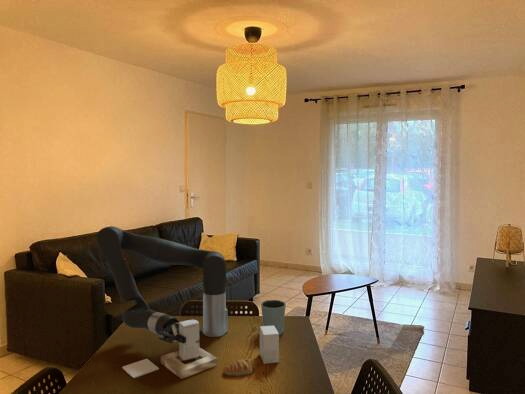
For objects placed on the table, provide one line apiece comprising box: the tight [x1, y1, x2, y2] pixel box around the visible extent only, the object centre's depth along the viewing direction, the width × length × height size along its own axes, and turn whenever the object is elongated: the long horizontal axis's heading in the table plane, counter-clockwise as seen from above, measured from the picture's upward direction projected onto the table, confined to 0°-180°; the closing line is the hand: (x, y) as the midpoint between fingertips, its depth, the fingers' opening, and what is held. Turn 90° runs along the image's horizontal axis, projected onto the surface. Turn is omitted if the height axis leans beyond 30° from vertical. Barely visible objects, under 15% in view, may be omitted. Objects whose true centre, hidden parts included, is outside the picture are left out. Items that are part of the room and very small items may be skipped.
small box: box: [259, 325, 280, 365], centre depth 146 cm, size 8×6×10 cm
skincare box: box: [178, 318, 200, 361], centre depth 141 cm, size 6×4×12 cm
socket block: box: [160, 346, 218, 380], centre depth 141 cm, size 14×14×2 cm
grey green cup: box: [260, 299, 287, 336], centre depth 169 cm, size 10×10×12 cm
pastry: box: [222, 357, 253, 377], centre depth 137 cm, size 9×7×4 cm
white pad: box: [121, 358, 160, 379], centre depth 138 cm, size 9×9×1 cm
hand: (193, 336), depth 139 cm, fingers closed on skincare box, 7 cm apart
